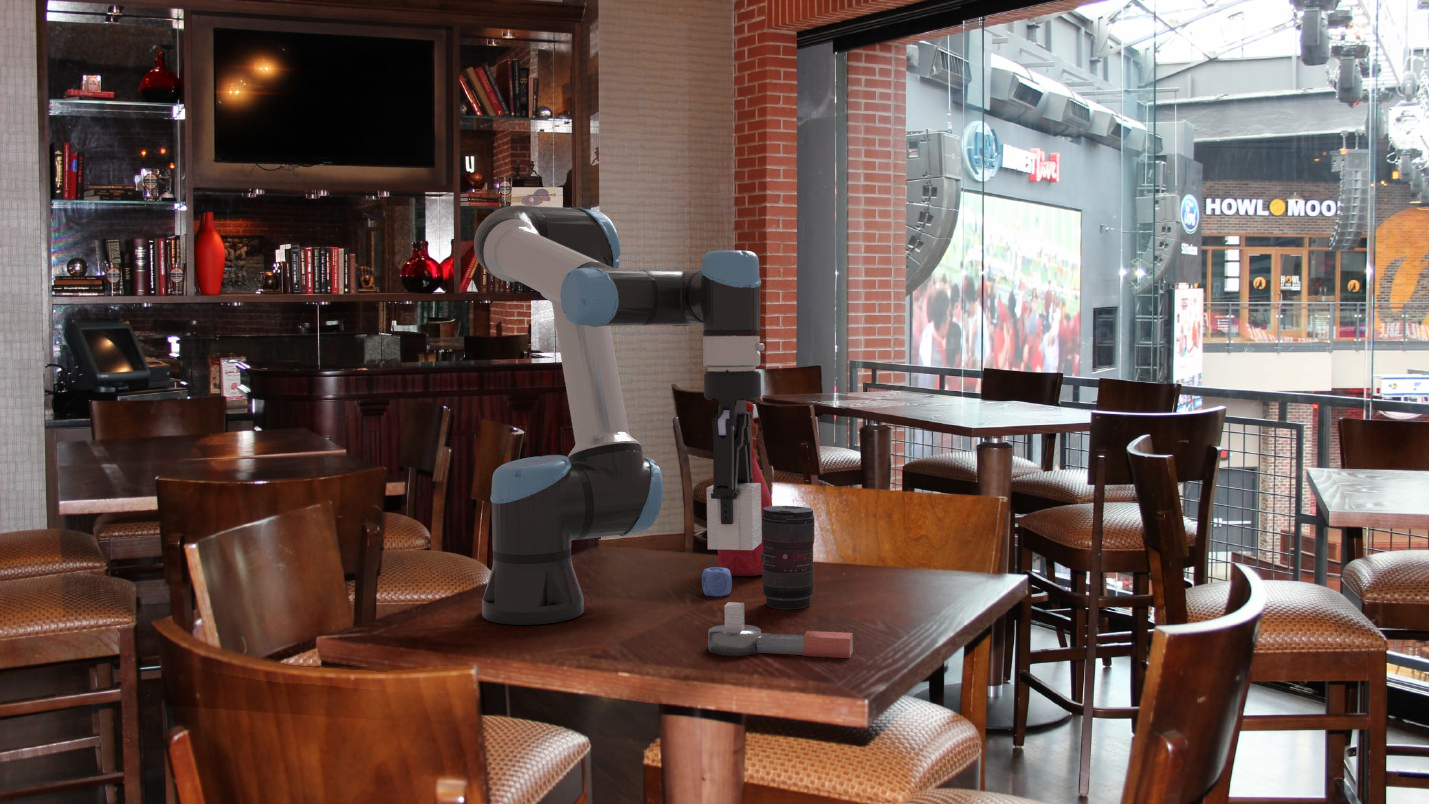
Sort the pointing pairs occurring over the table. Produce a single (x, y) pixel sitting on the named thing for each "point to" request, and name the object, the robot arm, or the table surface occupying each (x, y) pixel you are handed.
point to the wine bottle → (751, 559)
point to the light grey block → (747, 517)
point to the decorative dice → (716, 581)
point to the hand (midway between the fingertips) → (734, 543)
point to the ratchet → (773, 639)
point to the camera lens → (788, 556)
